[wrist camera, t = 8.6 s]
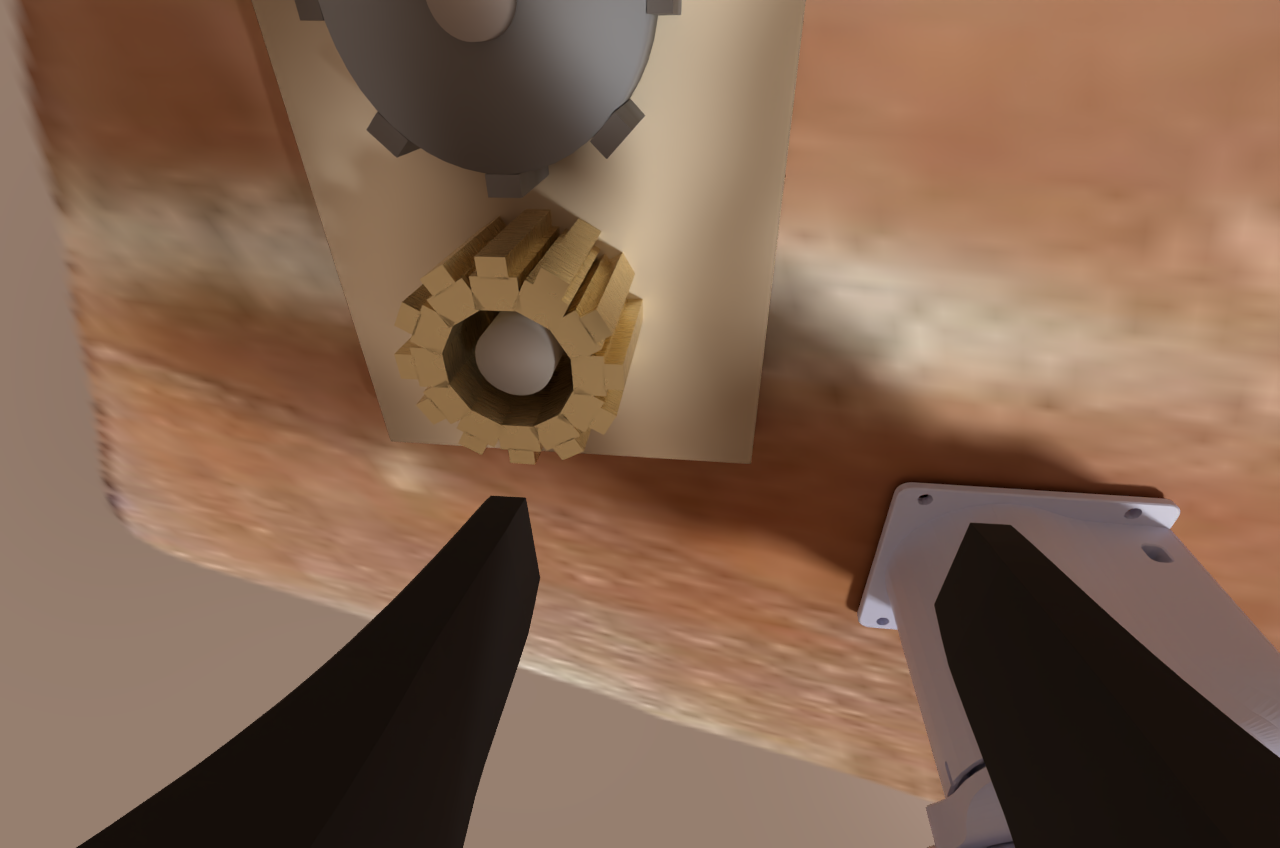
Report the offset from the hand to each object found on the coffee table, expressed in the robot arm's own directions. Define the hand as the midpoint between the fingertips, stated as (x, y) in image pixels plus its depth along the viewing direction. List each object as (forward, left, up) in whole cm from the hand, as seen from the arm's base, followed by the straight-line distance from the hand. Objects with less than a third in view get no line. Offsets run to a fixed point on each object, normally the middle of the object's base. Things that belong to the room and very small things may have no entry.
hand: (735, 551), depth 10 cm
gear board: (+5, -3, -10) cm, 12 cm away
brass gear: (+5, 0, -9) cm, 10 cm away
